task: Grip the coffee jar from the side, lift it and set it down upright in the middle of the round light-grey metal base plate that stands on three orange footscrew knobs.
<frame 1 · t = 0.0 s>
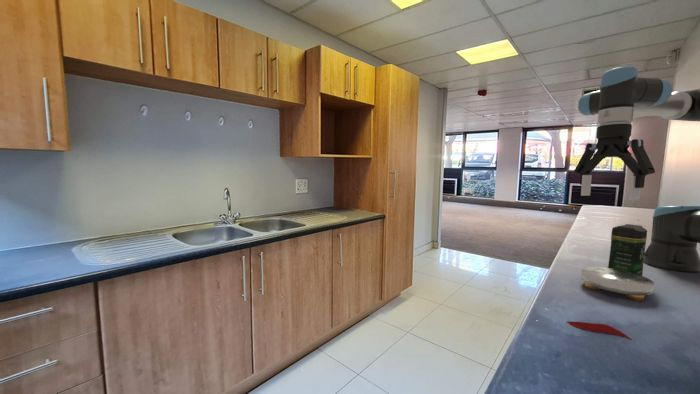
hand: (607, 197, 86), 28 cm above the countertop, tool pointing down, fingers open, 13 cm apart
curved red sliver: (597, 332, 66), on the countertop
coffee jar: (624, 280, 96), on the countertop
plate: (614, 290, 88), on the countertop
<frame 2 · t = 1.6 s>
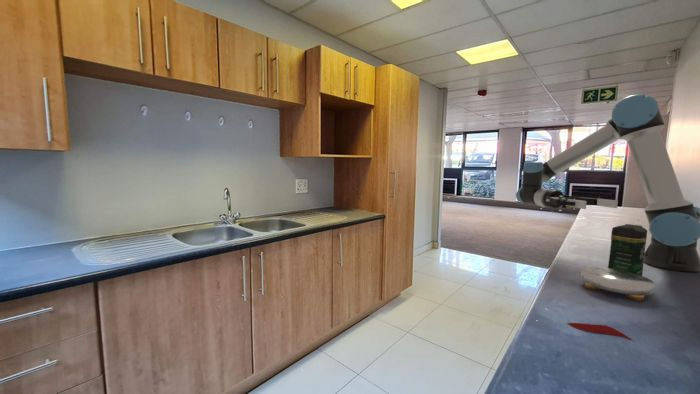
hand: (601, 204, 103), 24 cm above the countertop, tool horizontal, fingers open, 13 cm apart
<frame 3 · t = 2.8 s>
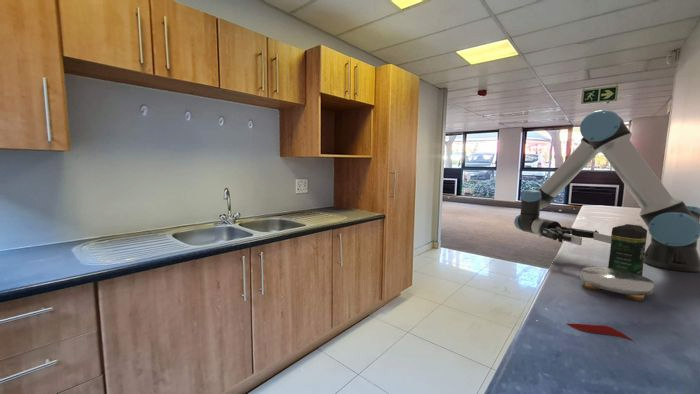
hand: (596, 240, 104), 11 cm above the countertop, tool horizontal, fingers open, 13 cm apart
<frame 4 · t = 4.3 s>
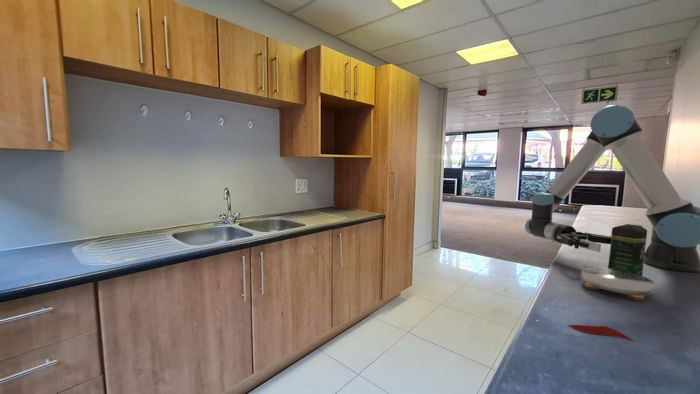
hand: (616, 247, 97), 10 cm above the countertop, tool horizontal, fingers open, 13 cm apart
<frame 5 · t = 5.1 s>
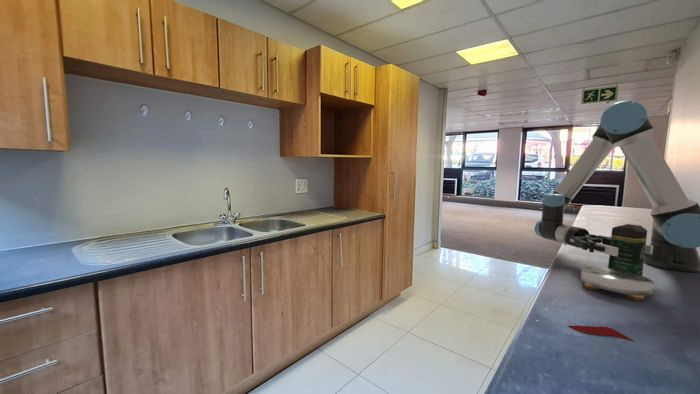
hand: (634, 251, 93), 10 cm above the countertop, tool horizontal, fingers open, 13 cm apart
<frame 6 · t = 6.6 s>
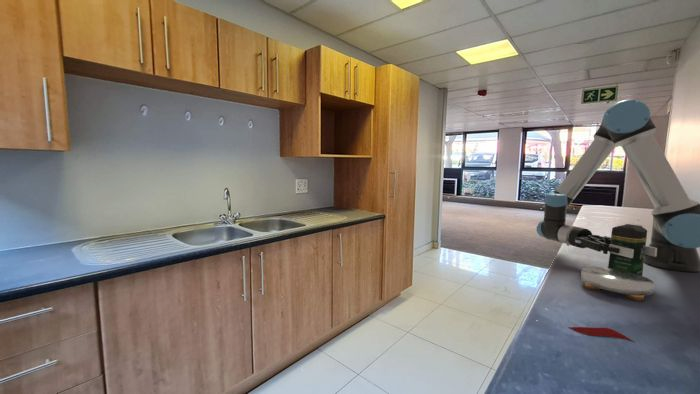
hand: (644, 253, 90), 11 cm above the countertop, tool horizontal, fingers closed on coffee jar, 8 cm apart
coffee jar: (624, 280, 96), on the countertop, touching gripper
when the fingers open (16 cm above the countertop, at t = 11.8 s): coffee jar drops 1 cm, resting on plate.
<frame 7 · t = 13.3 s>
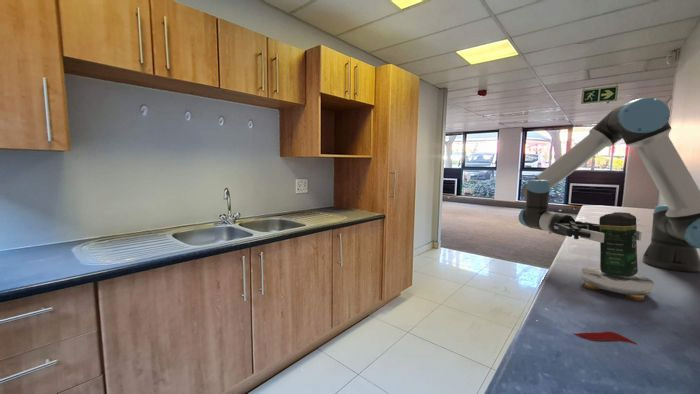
hand: (622, 237, 85), 17 cm above the countertop, tool horizontal, fingers open, 13 cm apart
curved red sliver: (603, 340, 63), on the countertop
coffee jar: (619, 274, 88), point 5 cm above the countertop, touching plate
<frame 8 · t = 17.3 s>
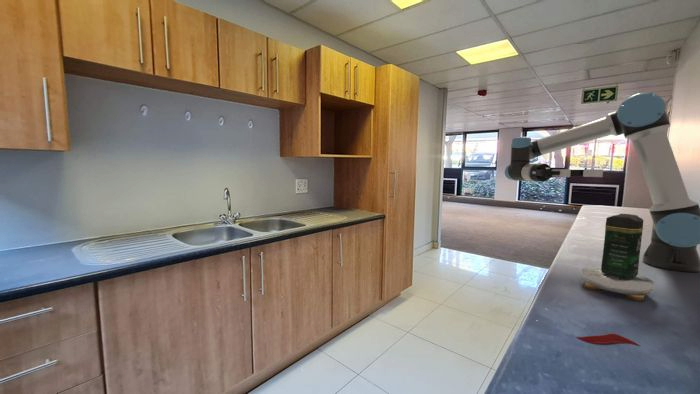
hand: (586, 173, 102), 35 cm above the countertop, tool horizontal, fingers open, 13 cm apart
curved red sliver: (606, 343, 62), on the countertop
at the end: coffee jar inside the target area on the plate (2.5 cm from its centre), point 4.3 cm above the plate's base; coffee jar tilted 0°; the gripper is holding nothing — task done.
